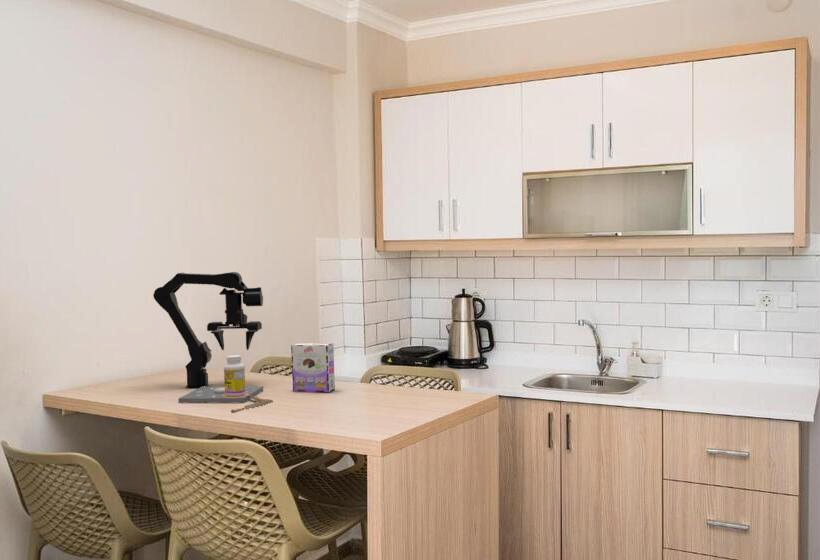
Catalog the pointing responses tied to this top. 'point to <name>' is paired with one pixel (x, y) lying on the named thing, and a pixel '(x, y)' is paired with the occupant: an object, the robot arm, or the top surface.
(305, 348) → the candy box
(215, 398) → the dial board
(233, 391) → the supplement bottle
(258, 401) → the brown flat branched piece
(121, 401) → the top surface
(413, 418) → the top surface
